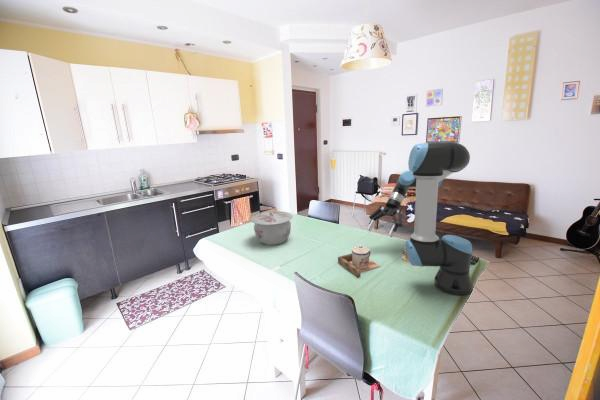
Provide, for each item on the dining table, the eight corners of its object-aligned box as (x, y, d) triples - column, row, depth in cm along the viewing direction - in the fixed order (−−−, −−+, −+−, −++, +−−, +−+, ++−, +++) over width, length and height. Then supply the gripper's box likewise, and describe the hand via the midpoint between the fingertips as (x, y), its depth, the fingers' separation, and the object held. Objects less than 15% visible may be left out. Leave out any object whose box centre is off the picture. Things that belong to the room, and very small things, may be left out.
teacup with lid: (360, 271, 143) (360, 250, 140) (348, 264, 150) (348, 245, 147) (376, 264, 149) (377, 244, 146) (363, 258, 157) (363, 239, 154)
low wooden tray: (384, 269, 145) (384, 263, 144) (357, 277, 138) (357, 271, 137) (362, 255, 160) (362, 250, 160) (338, 262, 154) (337, 256, 153)
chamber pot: (279, 252, 169) (276, 220, 164) (244, 245, 183) (241, 215, 178) (301, 236, 193) (300, 207, 188) (269, 230, 206) (267, 204, 201)
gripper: (417, 208, 154) (402, 242, 148) (378, 202, 172) (363, 231, 166) (413, 201, 149) (397, 235, 143) (373, 195, 168) (358, 224, 162)
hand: (379, 233), depth 155 cm, fingers open, 13 cm apart
